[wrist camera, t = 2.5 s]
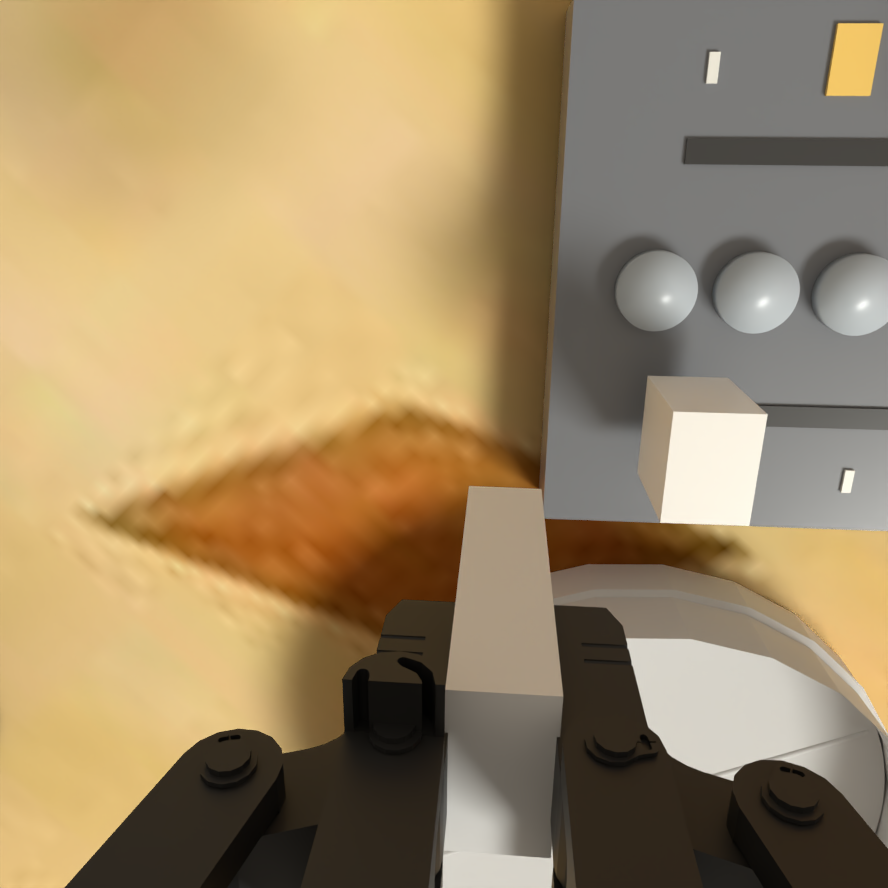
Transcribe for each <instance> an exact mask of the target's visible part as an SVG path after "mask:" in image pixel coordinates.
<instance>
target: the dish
mask: <svg viewBox="0 0 888 888" xmlns="http://www.w3.org/2000/svg"><path fill="white" fill-rule="evenodd" d="M550 575H551V585H552V594H553V604H554V605H563V606H583V607H603V608H607V609H608V610H609V611H610V612H611V613H612V615H613V616H614V617H615V618H616V619H617V620H618V621H619V622H620V623H621V624H622V625H623V629H624V633H625V637H626V641H627V645H628V649H629V653H630V657H631V661H632V666H633V669H634V673H635V677H636V681H637V685H638V689H639V693H640V697H641V701H642V705H643V709H644V713H645V717H646V721H647V725H648V727H649V728H650V729H651V730H652V731H653V732H654V733H655V734H657V735H658V736H659V737H660V739H661V741H662V743H663V745H664V747H665V749H666V750H667V753H668V754H669V755H670V756H672V757H673V758H675V759H676V760H678V761H680V762H682V763H683V764H685V765H687V766H689V767H692V768H694V769H697V770H700V771H702V772H705V773H709V774H712V775H715V776H718V777H722V778H725V779H728V780H732V781H733V780H734V775H735V774H736V773H737V772H738V771H739V770H740V769H741V768H742V767H743V766H744V765H745V764H748V763H752V762H755V761H758V760H782V761H786V762H789V763H793V764H796V765H799V766H803V767H805V768H807V769H809V770H811V771H813V772H814V773H816V774H818V775H820V776H822V777H823V778H825V779H826V780H827V781H829V782H830V783H831V784H832V785H833V786H834V787H835V788H836V789H837V790H838V791H840V792H841V793H842V794H843V795H844V797H845V798H846V799H847V800H848V801H849V803H850V804H851V805H852V806H853V807H854V809H855V810H856V811H857V812H858V813H859V815H860V816H861V817H862V818H863V819H864V821H865V822H866V823H867V824H868V825H869V827H870V828H871V829H872V830H873V831H874V833H875V834H876V835H877V836H878V837H879V839H880V840H881V841H882V842H883V843H884V845H885V846H886V847H887V848H888V733H887V731H886V729H885V727H884V726H883V724H882V722H881V720H880V718H879V716H878V714H877V713H876V711H875V709H874V707H873V705H872V703H871V701H870V699H869V698H868V696H867V694H866V692H865V690H864V688H863V687H862V686H861V685H860V684H859V683H858V682H857V681H856V680H855V678H854V677H853V675H852V674H851V673H850V671H849V670H848V668H847V667H846V665H845V664H844V663H843V661H842V660H841V658H840V657H839V656H838V655H837V654H836V653H835V652H834V651H833V650H832V649H831V648H830V647H828V646H827V645H826V644H825V643H824V642H823V641H822V640H821V639H820V638H819V637H818V636H817V635H816V634H815V633H814V632H813V631H812V630H811V629H810V628H809V627H808V626H807V625H806V624H805V623H804V622H803V621H801V620H800V619H799V618H798V617H797V616H796V615H795V614H794V613H792V612H790V611H788V610H787V609H785V608H783V607H781V606H779V605H777V604H775V603H773V602H772V601H770V600H768V599H766V598H764V597H762V596H760V595H758V594H757V593H755V592H753V591H751V590H749V589H747V588H745V587H743V586H742V585H740V584H738V583H736V582H734V581H730V580H726V579H722V578H718V577H713V576H709V575H705V574H701V573H697V572H692V571H688V570H684V569H680V568H676V567H671V566H667V565H663V564H587V565H582V566H578V567H573V568H569V569H565V570H560V571H556V572H551V573H550ZM552 873H553V852H552V849H551V858H540V857H526V856H512V855H499V854H485V853H471V852H457V851H444V852H443V887H442V888H551V886H552Z"/></svg>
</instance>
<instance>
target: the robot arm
mask: <svg viewBox="0 0 888 888" xmlns="http://www.w3.org/2000/svg"><path fill="white" fill-rule="evenodd" d="M342 682H343V704H344V727H345V732H344V734H342V735H341V736H340V737H338V738H337V739H335V740H333V741H330V742H328V743H326V744H324V745H321V746H317V747H314V748H310V749H305V750H300V751H294V752H289V753H283V754H282V749H281V748H280V746H279V745H278V744H277V743H276V741H275V740H274V739H273V738H272V737H270V736H268V735H266V734H264V733H261V732H259V731H256V730H245V729H235V730H229V731H224V732H218V733H216V734H214V735H212V736H209V737H207V738H205V739H203V740H200V741H199V742H197V743H196V744H195V745H194V746H193V747H191V748H190V749H189V750H188V751H187V752H185V753H184V754H183V755H182V756H181V758H180V759H179V760H178V761H177V762H176V763H175V764H174V765H173V767H172V768H171V769H170V770H169V771H168V772H167V773H166V774H165V776H164V777H163V778H162V779H161V780H160V781H159V782H158V783H157V784H156V786H155V787H154V788H153V789H152V790H151V791H150V792H149V793H148V795H147V796H146V797H145V798H144V799H143V800H142V801H141V802H140V804H139V805H138V806H137V807H136V808H135V809H134V810H133V811H132V813H131V814H130V815H129V816H128V817H127V818H126V819H125V820H124V822H123V823H122V824H121V825H120V826H119V827H118V828H117V829H116V831H115V832H114V833H113V834H112V835H111V836H110V837H109V838H108V840H107V841H106V842H105V843H104V844H103V845H102V846H101V847H100V848H99V850H98V851H97V852H96V853H95V854H94V855H93V856H92V857H91V859H90V860H89V861H88V862H87V863H86V864H85V865H84V866H83V868H82V869H81V870H80V871H79V872H78V873H77V874H76V875H75V877H74V878H73V879H72V880H71V881H70V882H69V883H68V884H67V886H66V887H65V888H442V887H443V852H444V851H457V852H471V853H485V854H499V855H512V856H526V857H540V858H551V849H552V852H553V873H552V886H551V888H888V848H887V847H886V846H885V845H884V843H883V842H882V841H881V840H880V839H879V837H878V836H877V835H876V834H875V833H874V831H873V830H872V829H871V828H870V827H869V825H868V824H867V823H866V822H865V821H864V819H863V818H862V817H861V816H860V815H859V813H858V812H857V811H856V810H855V809H854V807H853V806H852V805H851V804H850V803H849V801H848V800H847V799H846V798H845V797H844V795H843V794H842V793H841V792H840V791H838V790H837V789H836V788H835V787H834V786H833V785H832V784H831V783H830V782H829V781H827V780H826V779H825V778H823V777H822V776H820V775H818V774H816V773H814V772H813V771H811V770H809V769H807V768H805V767H803V766H799V765H796V764H793V763H789V762H786V761H782V760H758V761H755V762H752V763H748V764H745V765H744V766H743V767H742V768H741V769H740V770H739V771H738V772H737V773H736V774H735V775H734V780H733V781H732V780H728V779H725V778H722V777H718V776H715V775H712V774H709V773H705V772H702V771H700V770H697V769H694V768H692V767H689V766H687V765H685V764H683V763H682V762H680V761H678V760H676V759H675V758H673V757H672V756H670V755H669V754H668V753H667V750H666V749H665V747H664V745H663V743H662V741H661V739H660V737H659V736H658V735H657V734H655V733H654V732H653V731H652V730H651V729H650V728H649V727H648V725H647V721H646V717H645V713H644V709H643V705H642V701H641V697H640V693H639V689H638V685H637V681H636V677H635V673H634V669H633V666H632V661H631V657H630V653H629V649H628V645H627V641H626V637H625V633H624V629H623V625H622V624H621V623H620V622H619V621H618V620H617V619H616V618H615V617H614V616H613V615H612V613H611V612H610V611H609V610H608V609H607V608H603V607H583V606H563V605H554V604H553V594H552V585H551V575H550V566H549V556H548V547H547V537H546V528H545V518H544V509H543V499H542V490H541V489H531V488H506V487H481V486H469V491H468V500H467V508H466V517H465V525H464V534H463V542H462V551H461V560H460V568H459V577H458V585H457V594H456V602H442V601H422V600H401V601H400V602H399V603H398V604H397V605H396V606H395V607H394V608H393V609H392V610H391V611H390V612H389V613H388V614H387V615H386V618H385V622H384V625H383V629H382V633H381V638H380V640H379V644H378V648H377V654H374V655H371V656H368V657H365V658H363V659H361V660H360V661H358V662H357V663H355V664H354V665H353V666H351V667H350V668H349V670H348V671H347V673H346V674H345V676H344V677H343V679H342Z"/></svg>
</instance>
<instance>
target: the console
mask: <svg viewBox="0 0 888 888" xmlns="http://www.w3.org/2000/svg"><path fill="white" fill-rule="evenodd" d="M648 376H680V377H719V378H729V379H730V380H731V381H732V382H733V383H734V384H735V385H736V386H737V387H739V388H740V389H741V390H742V391H743V392H744V393H745V394H746V395H747V396H748V397H749V398H750V399H752V400H753V401H754V402H755V403H756V404H757V405H758V406H759V407H760V408H761V409H762V410H763V411H765V412H766V413H767V414H768V416H767V422H766V428H765V434H764V440H763V446H762V452H761V458H760V464H759V470H758V476H757V482H756V488H755V495H754V501H753V507H752V513H751V519H750V525H749V526H761V527H789V528H816V529H844V530H871V531H888V0H572V1H571V3H570V5H569V7H568V10H567V12H566V25H565V43H564V60H563V78H562V95H561V112H560V130H559V147H558V165H557V182H556V199H555V217H554V234H553V252H552V269H551V286H550V304H549V321H548V339H547V356H546V373H545V391H544V408H543V426H542V443H541V460H540V478H539V489H541V490H542V499H543V509H544V518H545V519H568V520H596V521H623V522H651V523H660V521H659V519H658V517H657V514H656V512H655V510H654V508H653V506H652V504H651V501H650V499H649V497H648V495H647V493H646V490H645V488H644V486H643V484H642V482H641V480H640V477H639V475H638V473H637V472H638V463H639V453H640V444H641V434H642V425H643V415H644V406H645V396H646V387H647V377H648ZM678 524H684V523H678ZM706 525H711V524H706ZM734 526H739V525H734Z"/></svg>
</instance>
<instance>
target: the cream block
mask: <svg viewBox="0 0 888 888" xmlns="http://www.w3.org/2000/svg"><path fill="white" fill-rule="evenodd" d="M767 416H768V414H767V413H766V412H765V411H763V410H762V409H761V408H760V407H759V406H758V405H757V404H756V403H755V402H754V401H753V400H752V399H750V398H749V397H748V396H747V395H746V394H745V393H744V392H743V391H742V390H741V389H740V388H739V387H737V386H736V385H735V384H734V383H733V382H732V381H731V380H730V379H729V378H719V377H680V376H648V377H647V387H646V396H645V406H644V415H643V425H642V434H641V444H640V453H639V463H638V472H637V473H638V475H639V477H640V480H641V482H642V484H643V486H644V488H645V490H646V493H647V495H648V497H649V499H650V501H651V504H652V506H653V508H654V510H655V512H656V514H657V517H658V519H659V521H660V523H684V524H711V525H739V526H749V525H750V519H751V513H752V507H753V501H754V495H755V488H756V482H757V476H758V470H759V464H760V458H761V452H762V446H763V440H764V434H765V428H766V422H767Z"/></svg>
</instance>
